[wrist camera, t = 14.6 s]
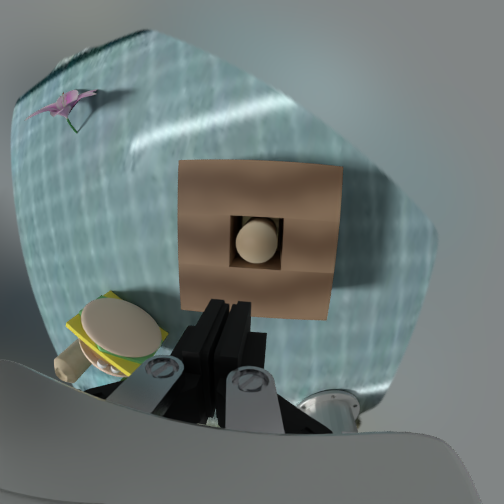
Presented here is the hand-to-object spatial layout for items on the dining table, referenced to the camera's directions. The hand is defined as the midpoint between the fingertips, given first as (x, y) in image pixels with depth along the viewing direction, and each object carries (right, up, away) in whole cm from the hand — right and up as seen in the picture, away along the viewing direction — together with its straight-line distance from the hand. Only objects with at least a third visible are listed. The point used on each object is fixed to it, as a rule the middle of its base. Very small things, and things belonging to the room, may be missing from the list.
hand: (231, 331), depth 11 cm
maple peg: (+2, +6, +22) cm, 23 cm away
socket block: (+2, +6, +24) cm, 25 cm away
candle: (-32, -16, +33) cm, 48 cm away
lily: (-27, +27, +22) cm, 44 cm away
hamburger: (-18, -8, +30) cm, 36 cm away
